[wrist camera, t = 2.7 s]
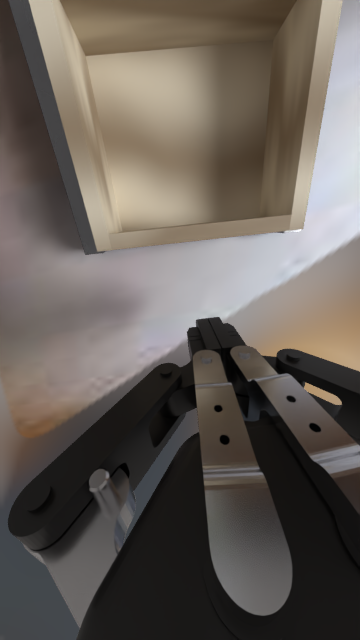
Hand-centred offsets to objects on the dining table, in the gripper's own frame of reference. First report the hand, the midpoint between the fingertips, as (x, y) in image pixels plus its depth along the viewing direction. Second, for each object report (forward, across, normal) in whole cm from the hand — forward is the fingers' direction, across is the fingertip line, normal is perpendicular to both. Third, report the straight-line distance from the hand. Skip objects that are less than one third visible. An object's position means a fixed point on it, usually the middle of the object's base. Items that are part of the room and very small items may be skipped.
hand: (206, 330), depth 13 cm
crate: (+6, 0, -11) cm, 12 cm away
